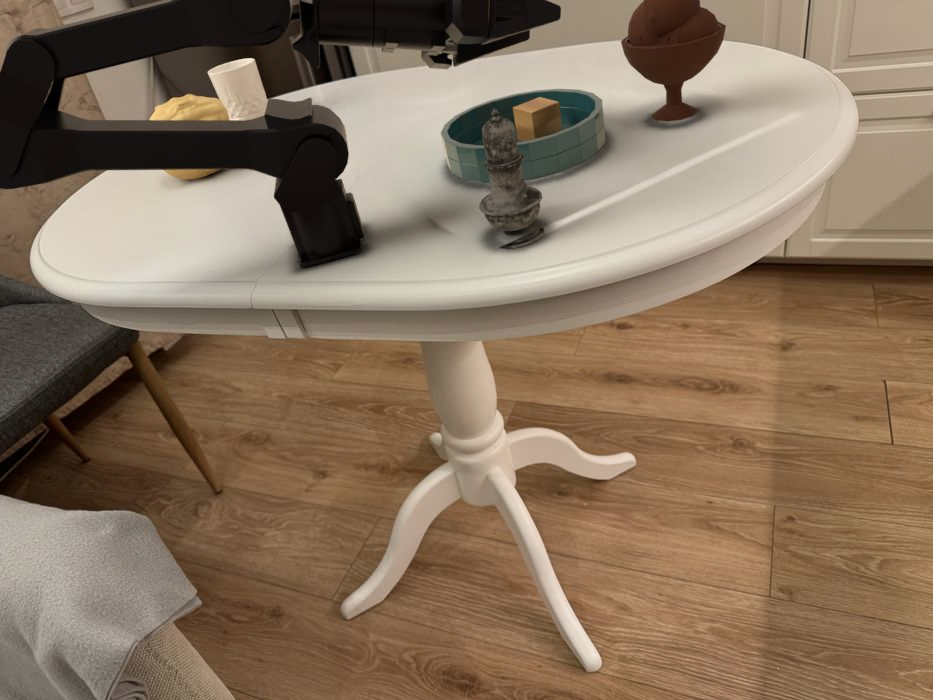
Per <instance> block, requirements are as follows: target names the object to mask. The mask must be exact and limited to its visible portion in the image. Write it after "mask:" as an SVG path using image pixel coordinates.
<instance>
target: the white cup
mask: <svg viewBox="0 0 933 700" xmlns="http://www.w3.org/2000/svg"><path fill="white" fill-rule="evenodd" d="M207 75H208V77H209V79H210V81H211V83H212V86H213V89H215V90H214V91H215V93H216V95H217V97H218V99H219V100H220V101H221V102H222V104H223V105H224V107H225V108H226V109H227V112H228V115H229V119H230V120H251V119H254V118H258V117H261V116H264V115H265V110H266V106H267V102H268V98H267V94H266V91H265V87H264V84H263V81H262V78H261V75H260V71H259V68H258V65H257V62H256V59H255V58H252V57H248V58H247V57H246V58H241V59H236V60H233V61H228V62H225V63H222V64H219V65H217V66H215V67H212V68H211V69H209V70H208V71H207Z"/></svg>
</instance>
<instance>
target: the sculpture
mask: <svg viewBox="0 0 933 700" xmlns="http://www.w3.org/2000/svg"><path fill="white" fill-rule="evenodd" d="M148 120H230V119H229V115H228V112H227V109H226V108H225V107H224V105H223V104H222V102H221V101H220V100H219V98H217V97H209V96H207V97H206V96H202V95H195V94H192V93H187V94H185V95H184V96H181V97H172V98H170V99H169V100H168V101H167V102H164V103H163V104H159V105H156V106H155V107H154V112H153V113H152V114H151V116H150V117H149V119H148ZM220 170H221V169H199V170H163V171H164V172H165V173H166V174H168V176H171V177H173V178H177V179H182V180H195V179H201V178H204V177H206V176H209V175H211V174H214V173H216V172H218V171H220Z"/></svg>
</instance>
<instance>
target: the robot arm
mask: <svg viewBox="0 0 933 700" xmlns="http://www.w3.org/2000/svg"><path fill="white" fill-rule="evenodd" d="M298 2H299V28H300V29H299V31H300V34H299V35H298V36H297V37H295V38H294V39H293V40H292V45H291V47H292V49H293V50H294V51H296V52H298V53H299V54H300V55H301V56H302V57H303V58H304V59H305V60H306V61H307V62H308V64H309V65H310V66H311V68H312V69H319V68H320V66H321V56H320V55H321V53H320V52H321V50H320V49H321V47H320V45H329V46H330V45H332V46H346V47H361V48H364V47H365V48H379V49H381V53H388V54H389V53H390V54H393V53H394V52H395V51H396V50H407V51H409V50H410V51H421V53H420V59H421V60H422V61H423V62H424V64H426V66H427V67H428V68H429V69H435V70H448V69H450V68H451V67H452V66H453V67H454V68H456V67H459V66H461V65H464V64H466V63H469V62H472V61H475V60H478V59H480V58H483V57H485V56H488V55H491V54H494V53H496V52H499V51H502V50H505V49H507V48H510V47H513V46H516V45H518V44H522V43H525V42H527V41H529V40H530V38H531V30H534V29H537V28H540V27H543V26H546V25H550V24H552V23H555V22H558V21H560V20H561V17H562V16H561V15H562V14H561V13H562V7H561V5H559V4H557V3H555V2H551V1H549V0H298ZM293 4H294V1H293V0H159V1H154V2H151V3H146V4H143V5H138V6H135V7H130V8H127V9H123V10H118V11H114V12H110V13H106V14H103V15H99V16H95V17H90V18H87V19H86V18H85V19H82V20H79V21H75V22H74V21H73V22H70V23H65V24H61V25H58V26H55V27H50V28H47V27H46V28H45V27H44V28H43V27H35V28H33V29H31V30H28V31H26V32H25V33H22V34H20V35H18V36H16V37H13V38H12V39H11V40H10V41H9V43H8V44H7V46H6V50H5V56H4V60H3V62H2V65H1V67H0V190H14V189H20V188H21V189H22V188H26V187H31V186H38V185H43V184H48V183H51V182H55V181H58V180H61V179H64V178H69V177H71V176H74V175H77V174H80V173H85V172H90V171H92V172H93V171H164V170H199V169H220V170H250V171H255V172H258V173H261V174H263V175H266V176H269V177H272V178H275V185H274V192H273V198H274V200H275V201H276V203H278V205H279V207H280V210H281V212H282V216H283V218H284V220H285V223H286V225H287V228H288V231H289V233H290V235H291V239H292V241H293V243H294V246H295V249H296V252H297V254H298V255H297V264H298V267H299V268H306V267H310V266H313V265H314V266H315V265H318V264H321V263H326V262H329V261H333V260H336V259H340V258H344V257H348V256H351V255H355V254H359V253H361V252H362V251H363V244H362V243H363V242H362V240H363V239H364V238H365V231H364V226H363V222H362V219H361V216H360V212H359V210H358V206H357V203H356V200H355V197H354V194H353V192H350V191H349V192H347V191H346V187H345V184H344V181H343V179H342V178H339V177H340V176H341V175H342V174H343V173H345V169H346V168H347V165H348V164H349V163H348V162H349V156H350V155H349V154H350V153H349V144H348V138H347V132H346V131H347V130H346V126H345V124H344V123H343V120H342V119H341V117H340V116H338V115H337V114H336V113H335V111H333V110H332V109H331V108H329V107H327V106H325V105H319V104H313V98H312V97H307V98H305V99H302V100H297V101H293V100H285V99H280V98H269V99H268V98H267V101H268V102H267V106H266V110H265V115H264V116H261V117H258V118H254V119H251V120H149V119H88V118H82V117H79V116H78V115H77V116H76V115H74V114H70V113H67V112H64V111H62V110H60V108H61V104H62V99H63V94H64V90H65V83H66V80H67V79H70V78H72V77H77V76H81V75H85V74H89V73H93V72H97V71H100V70H104V69H108V68H113V67H116V66H117V67H118V66H120V65H124V64H129V63H133V62H136V61H141V60H144V59H148V58H152V57H155V56H156V57H157V56H160V55H164V54H168V53H172V52H177V51H180V50H184V49H188V48H224V49H225V48H226V49H227V48H244V47H258V46H259V47H261V46H267V45H271V44H273V43H275V42H277V41H278V40H279V39H281V38H282V37H283V36H284V34H285V33H286V31H287V29H288V26H289V24H290V23H291V18H292V14H293V13H292V12H293Z"/></svg>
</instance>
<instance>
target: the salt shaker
mask: <svg viewBox="0 0 933 700" xmlns="http://www.w3.org/2000/svg"><path fill="white" fill-rule="evenodd" d="M491 114H492V115H493V118H491V120H489V121H488V122H487V123H486V124H485V125H484V126H483V128H482V137H483V142H484V147H485V152H486V158H487V159H486V160H485V162H484V164H483V165H484V167H485V168H487V169H488V173H489V178H490V183H489V184H490V193H489V194H487V195H486V196H484V197H483V198H482V199H481V201H480V202H479V205H478V208H479V210H480V211H481V213H483V215H484V218H485V219H486V220H487V222H488V224H489V225H490V226H491V227H493V228H494V229H497V230H498V231H502V232H503V233H504V234H505V235H508V236H518V235H521V234H523V233H525V232H526V231H527V230H528V228H529V226H531V225H532V224H533V223H534V221H535V220H536V219H537V218H538V216H539V214H540V210H541V202H542V199H543V193H542V191H541V190H540V189H538V188H537V187H533V186H529V185H528V184H527V183H526V180H524V177H523V171H522V165H521V162H522V161H523V159H524V156H523V154H521V153H519V152H518V146H517V139H516V133H515V127H514V124H513V122H512V121H511V120H509V119H507V118H502V117H500V116H498V114H499V112H498V111H497V110H496V109H495V108H494V109H493V111H492V113H491ZM544 234H545V227H544V226H543V227H540V228H539V229H536V230H534V231H532V232H529V233H527V234H526V235H523V236H521V237H519V238H516V239H514V240H512V241H510V242H508V243H506V244H504V245H501V246H500V247H499V249H506V250H507V249H518V248H523V247H525V246H526V247H527V246H529V245H531V244H534V243H536V242H537V241H539V240H540V239H541V238H542V237H543V236H544Z"/></svg>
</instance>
